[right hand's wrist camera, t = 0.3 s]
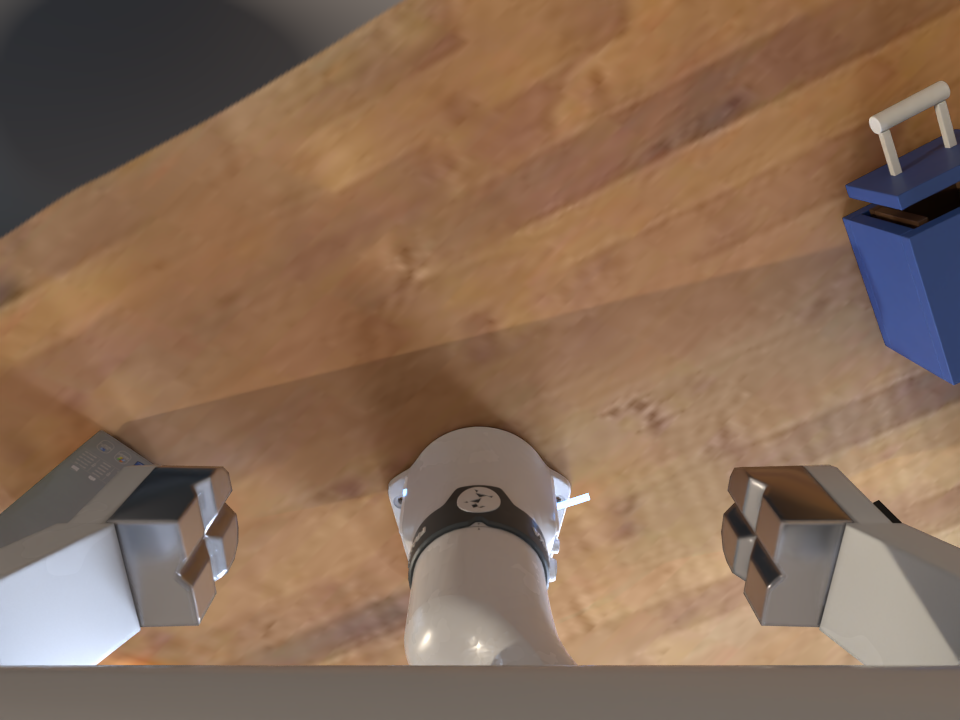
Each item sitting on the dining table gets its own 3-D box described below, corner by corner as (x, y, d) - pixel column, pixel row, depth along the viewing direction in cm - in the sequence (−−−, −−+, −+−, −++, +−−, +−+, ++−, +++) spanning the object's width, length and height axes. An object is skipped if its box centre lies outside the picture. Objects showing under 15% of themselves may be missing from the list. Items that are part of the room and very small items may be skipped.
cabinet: (842, 217, 56) (908, 238, 47) (962, 157, 54) (1055, 167, 45) (885, 345, 60) (953, 385, 52) (997, 293, 58) (1088, 326, 50)
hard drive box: (101, 425, 63) (-56, 557, 45) (167, 470, 65) (43, 614, 47) (28, 522, 68) (-143, 679, 49) (92, 561, 70) (-49, 726, 51)
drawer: (825, 128, 52) (877, 131, 45) (939, 68, 51) (1010, 62, 44) (885, 307, 58) (938, 333, 51) (989, 258, 56) (1058, 278, 49)
